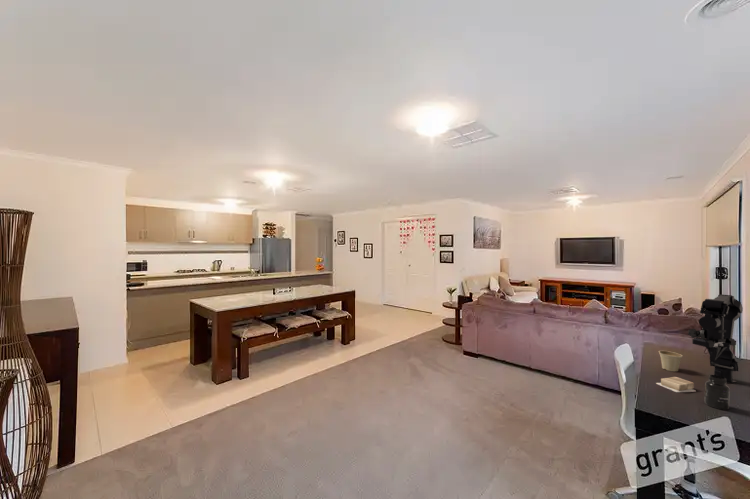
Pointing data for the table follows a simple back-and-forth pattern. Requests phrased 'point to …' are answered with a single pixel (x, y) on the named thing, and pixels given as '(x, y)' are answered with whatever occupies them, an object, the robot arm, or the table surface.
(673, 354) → the flower pot
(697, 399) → the table surface
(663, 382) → the maple tile
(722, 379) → the supplement bottle
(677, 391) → the felt mat
